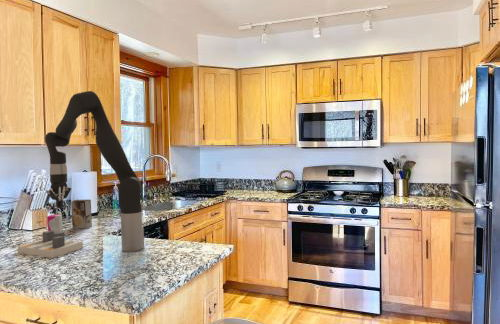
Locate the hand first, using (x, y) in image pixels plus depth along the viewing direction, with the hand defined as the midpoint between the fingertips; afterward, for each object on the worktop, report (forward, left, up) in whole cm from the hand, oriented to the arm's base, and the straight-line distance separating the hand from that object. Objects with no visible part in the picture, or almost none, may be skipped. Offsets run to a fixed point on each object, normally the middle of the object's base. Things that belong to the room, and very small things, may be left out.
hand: (59, 207), depth 180 cm
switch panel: (+11, +7, -17) cm, 22 cm away
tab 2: (+7, +7, -15) cm, 18 cm away
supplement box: (-8, -13, -18) cm, 23 cm away
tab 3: (+13, +14, -16) cm, 25 cm away
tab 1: (+7, 0, -16) cm, 17 cm away
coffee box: (-29, -17, -18) cm, 38 cm away
